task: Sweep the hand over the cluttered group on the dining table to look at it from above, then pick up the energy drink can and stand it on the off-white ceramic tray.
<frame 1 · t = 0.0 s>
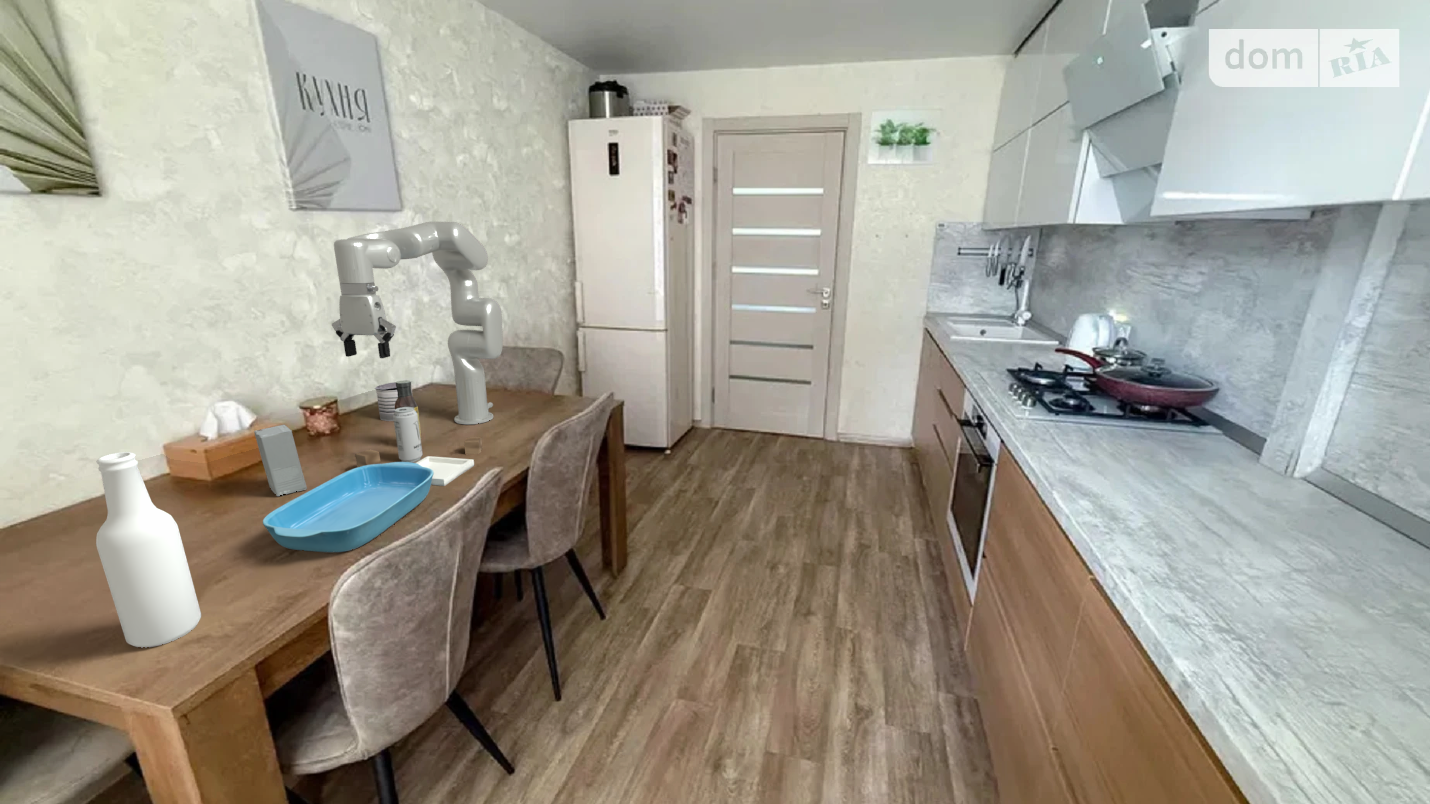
hand: (368, 356, 148), 31 cm above the table, tool pointing down, fingers open, 9 cm apart
energy drink can: (411, 459, 163), on the table
walnut block B: (369, 469, 155), on the table
walnut block A: (474, 452, 169), on the table
alcohol: (166, 632, 91), on the table
tray: (436, 473, 153), on the table
casserole dish: (361, 521, 127), on the table
striped cup: (397, 416, 201), on the table
sauce bottle: (411, 445, 174), on the table
skincare box: (286, 490, 142), on the table
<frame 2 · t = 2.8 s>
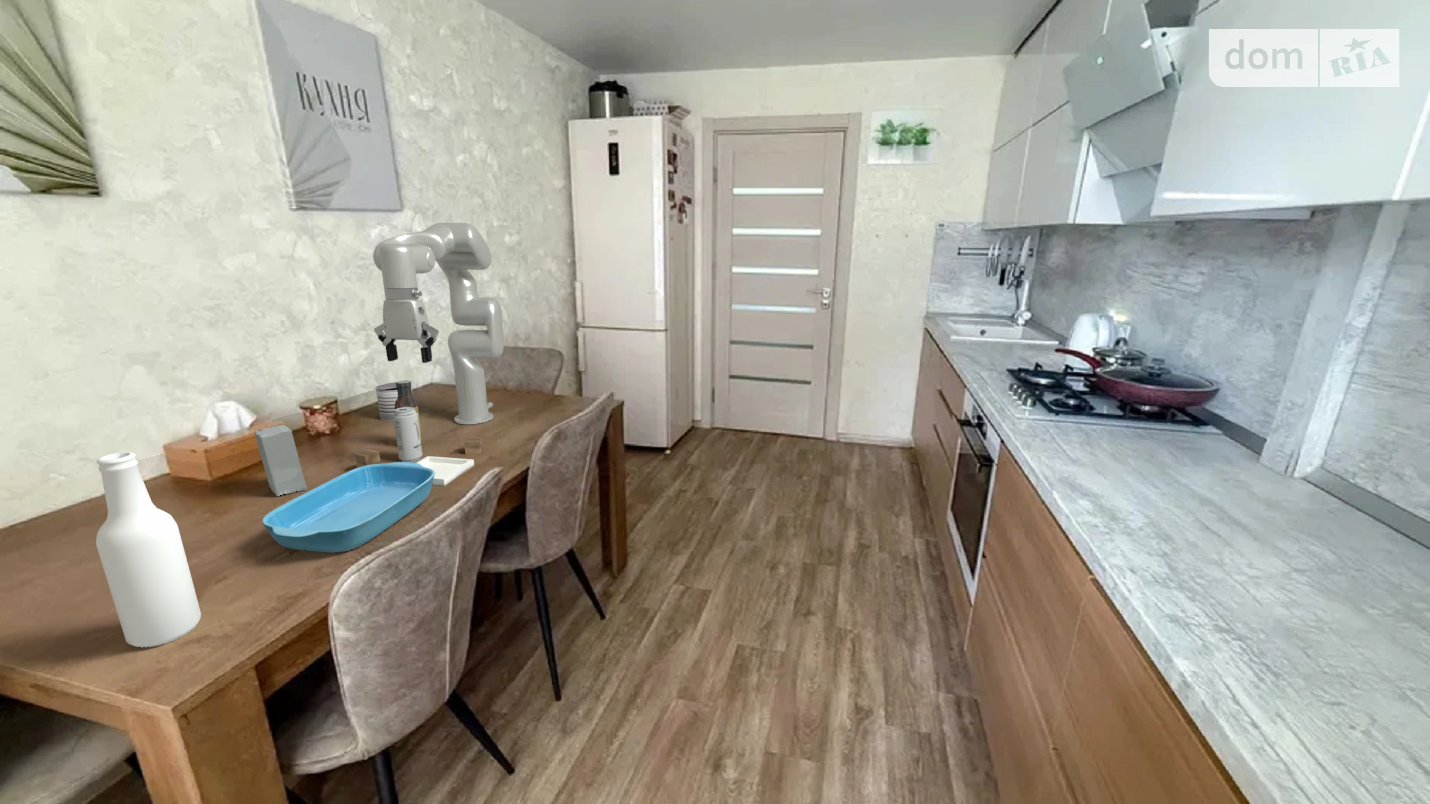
hand: (410, 361, 148), 30 cm above the table, tool pointing down, fingers open, 9 cm apart
nothing on the table moved.
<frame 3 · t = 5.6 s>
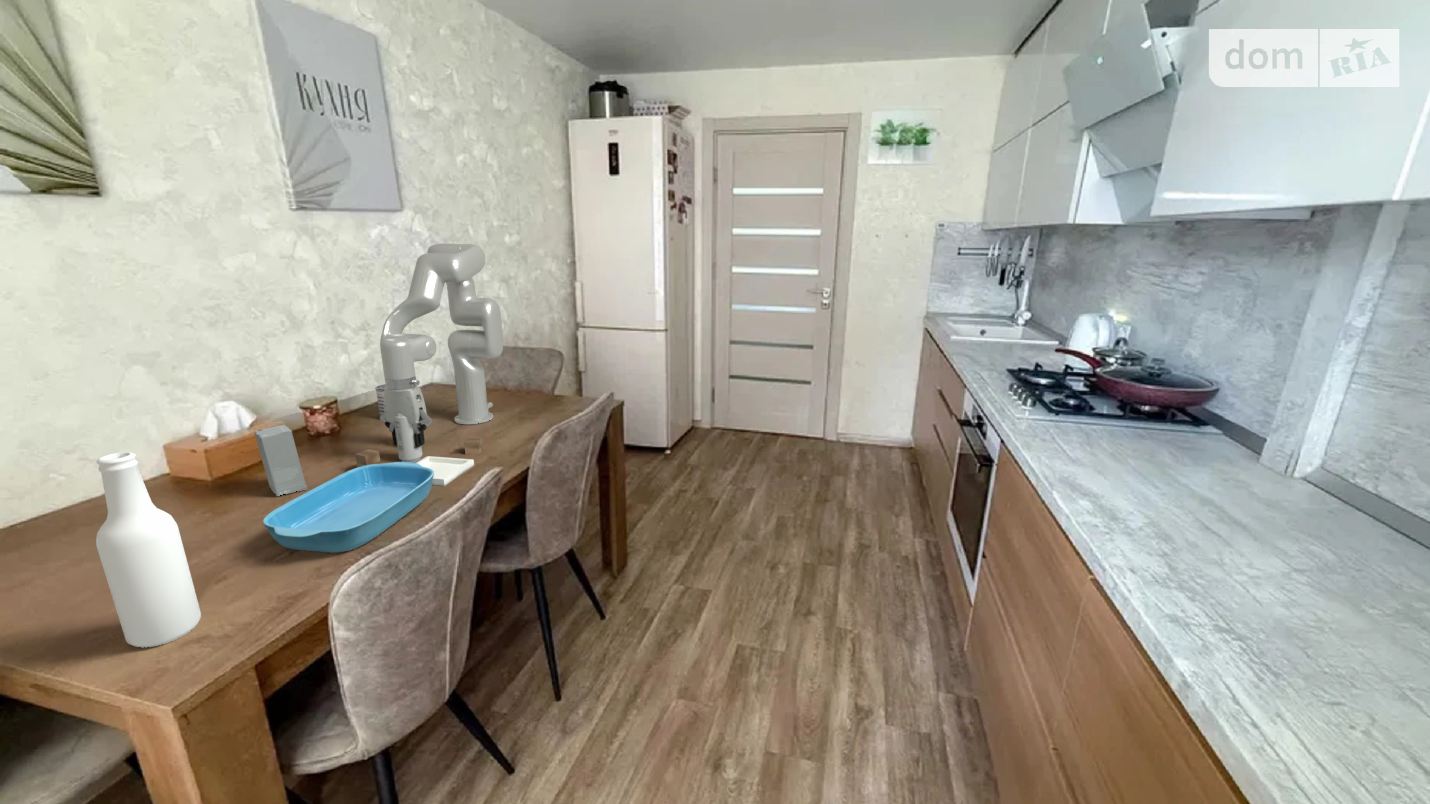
hand: (409, 444, 161), 5 cm above the table, tool pointing down, fingers closed on energy drink can, 6 cm apart
energy drink can: (411, 459, 163), on the table, touching gripper
everything else where it was.
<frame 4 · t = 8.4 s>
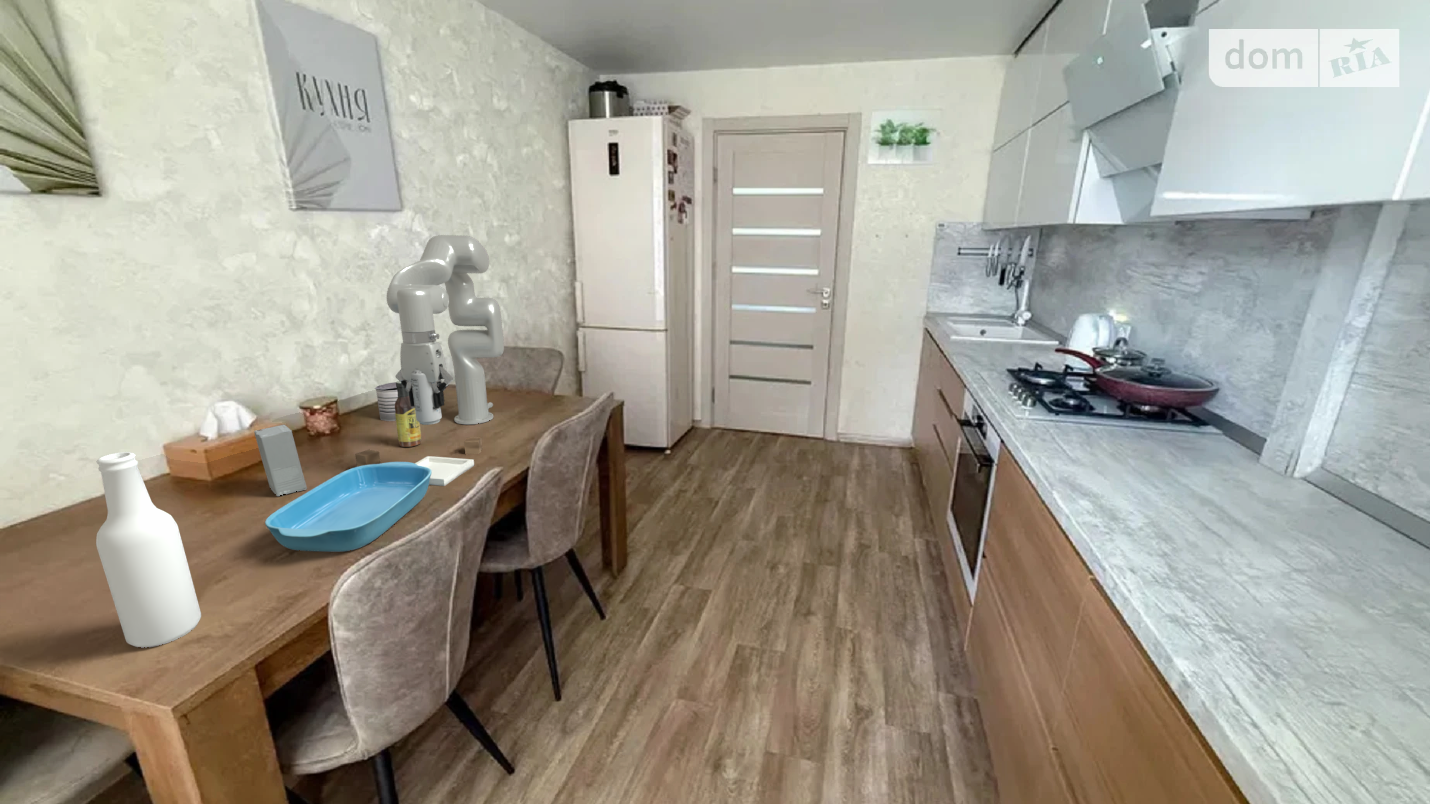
hand: (427, 405, 148), 19 cm above the table, tool pointing down, fingers closed on energy drink can, 6 cm apart
energy drink can: (429, 422, 149), point 14 cm above the table, touching gripper
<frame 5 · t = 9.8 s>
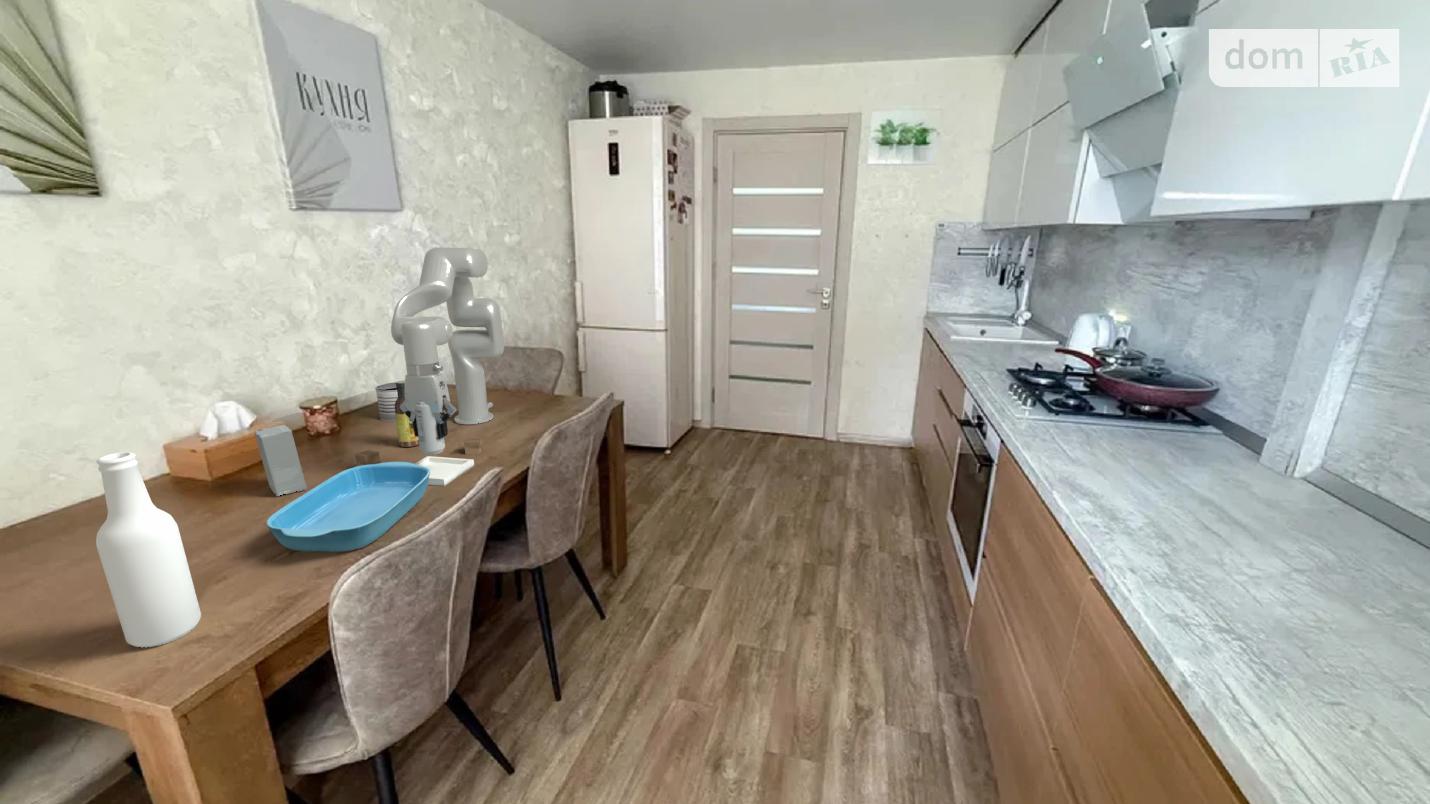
hand: (431, 435, 150), 11 cm above the table, tool pointing down, fingers closed on energy drink can, 6 cm apart
energy drink can: (433, 452, 151), point 6 cm above the table, touching gripper
everything else where it was.
when the fingers open (7 cm above the table, at t = 11.1 s): energy drink can drops 2 cm, resting on tray.
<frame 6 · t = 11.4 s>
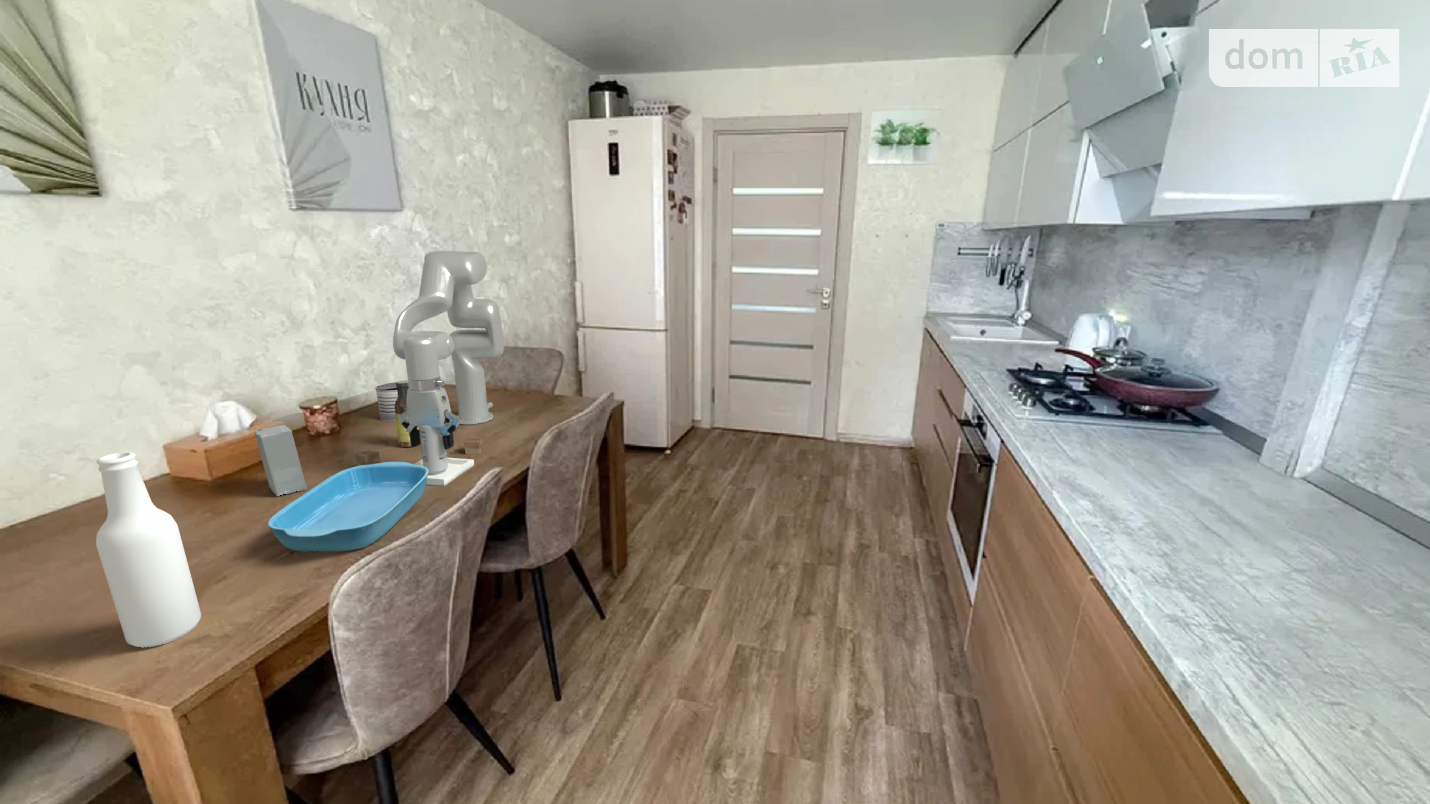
hand: (432, 446, 151), 8 cm above the table, tool pointing down, fingers open, 9 cm apart
energy drink can: (436, 471, 153), resting on tray
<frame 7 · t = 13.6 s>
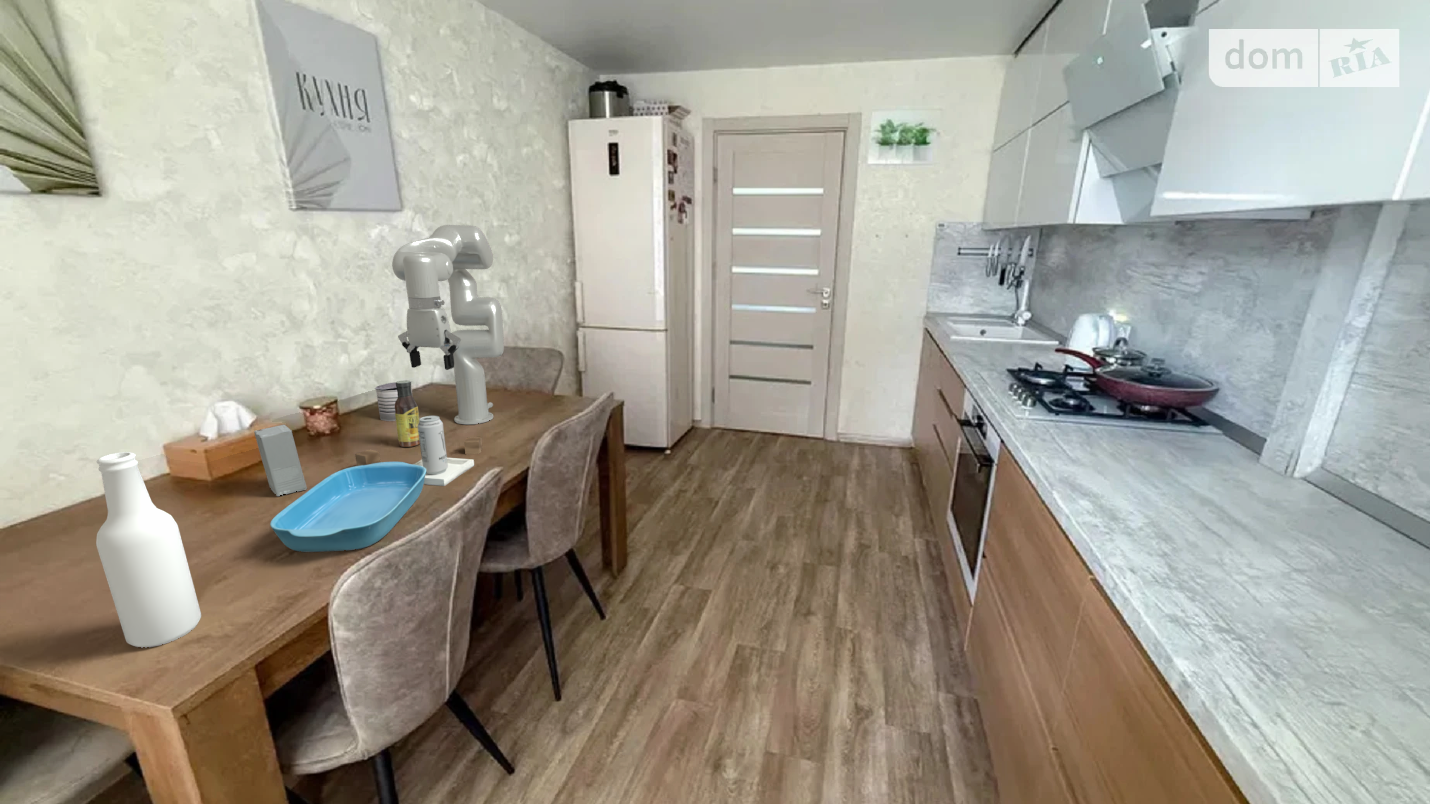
hand: (433, 367, 152), 28 cm above the table, tool pointing down, fingers open, 9 cm apart
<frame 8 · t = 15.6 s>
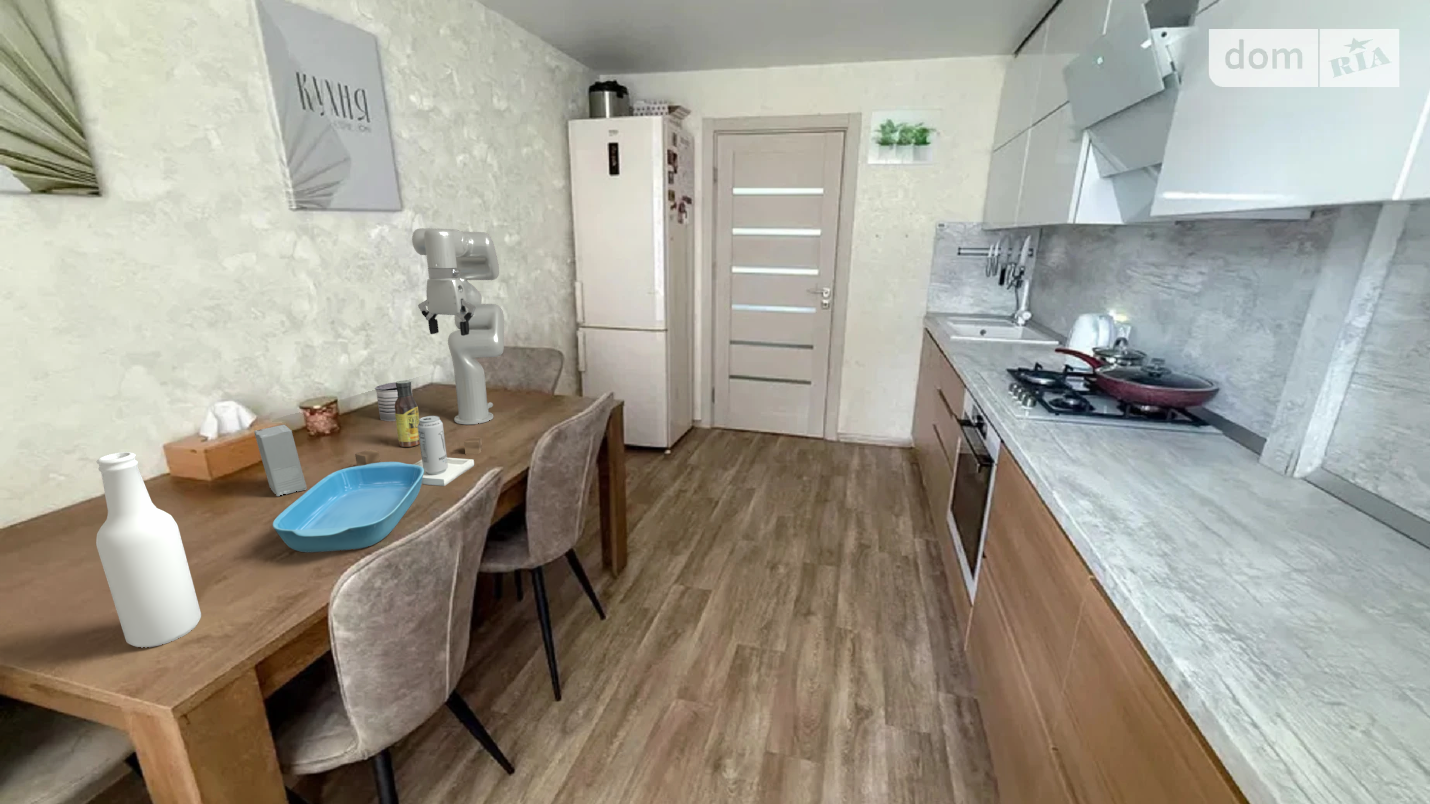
hand: (449, 334, 166), 34 cm above the table, tool pointing down, fingers open, 9 cm apart
at the end: energy drink can inside the target area on the tray (0.2 cm from its centre), point 0.3 cm above the tray's base; energy drink can tilted 0°; the gripper is holding nothing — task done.
